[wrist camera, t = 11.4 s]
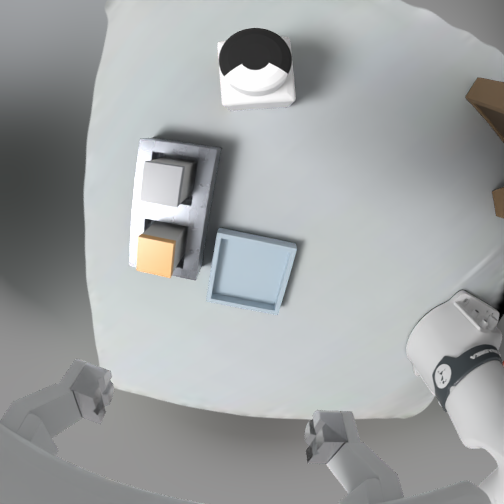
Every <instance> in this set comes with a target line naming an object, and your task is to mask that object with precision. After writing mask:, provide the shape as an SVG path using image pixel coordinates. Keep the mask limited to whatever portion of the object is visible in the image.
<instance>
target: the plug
mask: <svg viewBox="0 0 504 504" xmlns="http://www.w3.org/2000/svg"><path fill="white" fill-rule="evenodd" d="M187 230H188V227H187V226H182V225H177V224H172V223H167V222H162V221H156V222H154V223H153V224H152V225H151V226H150V227H149V228H148V229H147V230H146V231H144V232H143V233H142V234H140V235H139V236H138V244H137V268H136V270H137V271H141V272H146V273H150V274H154V275H159V276H163V277H168V278H171V276H172V274H173V272H174V270H175V268H176V267H177V265H178V263H179V262H180V260H181V258H182V257H183V255H184V253H185V245H186V237H187Z"/></svg>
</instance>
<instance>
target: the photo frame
mask: <svg viewBox="0 0 504 504" xmlns="http://www.w3.org/2000/svg"><path fill="white" fill-rule="evenodd" d="M465 98H466V99H467V100H468V101H469V102H470V103H471V104H472V105H473V106H474V108H475V109H476V110H477V111H478V112H479V113H480V114H481V115H482V117H483V118H484V119H485V120H486V121H487V122H488V124H489V125H490V126H491V127H492V129H493V130H494V131H495V132H496V133H497V135H498V136H499V137H500V139H501V140H502V141H503V143H504V82H499V81H494V80H489V79H484V78H477V79H476V81H475V83H474V84H473V86H472V87H471V89H470V91H469V92H468V94H467V95H466V97H465ZM492 194H493V199H494V205H495V211H496V216H498V217H501V218H504V187H502V188H499V189H496V190H494V191H492Z"/></svg>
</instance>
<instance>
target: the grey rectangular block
mask: <svg viewBox="0 0 504 504" xmlns="http://www.w3.org/2000/svg"><path fill="white" fill-rule="evenodd" d="M196 165H197V161H192V160H186V159H180V158H173V157H166V156H165V157H162V158H158V159H154V160H151V161H145V162H144V167H143V175H142V183H141V193H140V201H143V202H149V203H154V204H160V205H165V206H171V207H176V208H177V207H178V206H179V205H180V203H181V202H183V201H184V200H185V199H186V198H187V197H188V196H189V195H190V194H192V189H193V183H194V177H195V171H196Z"/></svg>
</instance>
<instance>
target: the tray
mask: <svg viewBox="0 0 504 504" xmlns="http://www.w3.org/2000/svg"><path fill="white" fill-rule="evenodd" d="M296 251H297V247H296V243H292V242H287V241H283V240H278V239H273V238H268V237H263V236H258V235H253V234H249V233H244V232H239V231H234V230H229V229H224V228H219V229H218V232H217V236H216V242H215V248H214V254H213V260H212V266H211V272H210V279H209V285H208V291H207V298H206V301H207V302H212V303H217V304H222V305H227V306H232V307H237V308H242V309H247V310H253V311H258V312H264V313H269V314H275V315H278V313H279V309H280V306H281V303H282V300H283V296H284V293H285V289H286V286H287V283H288V279H289V276H290V272H291V269H292V265H293V262H294V258H295V255H296Z"/></svg>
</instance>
